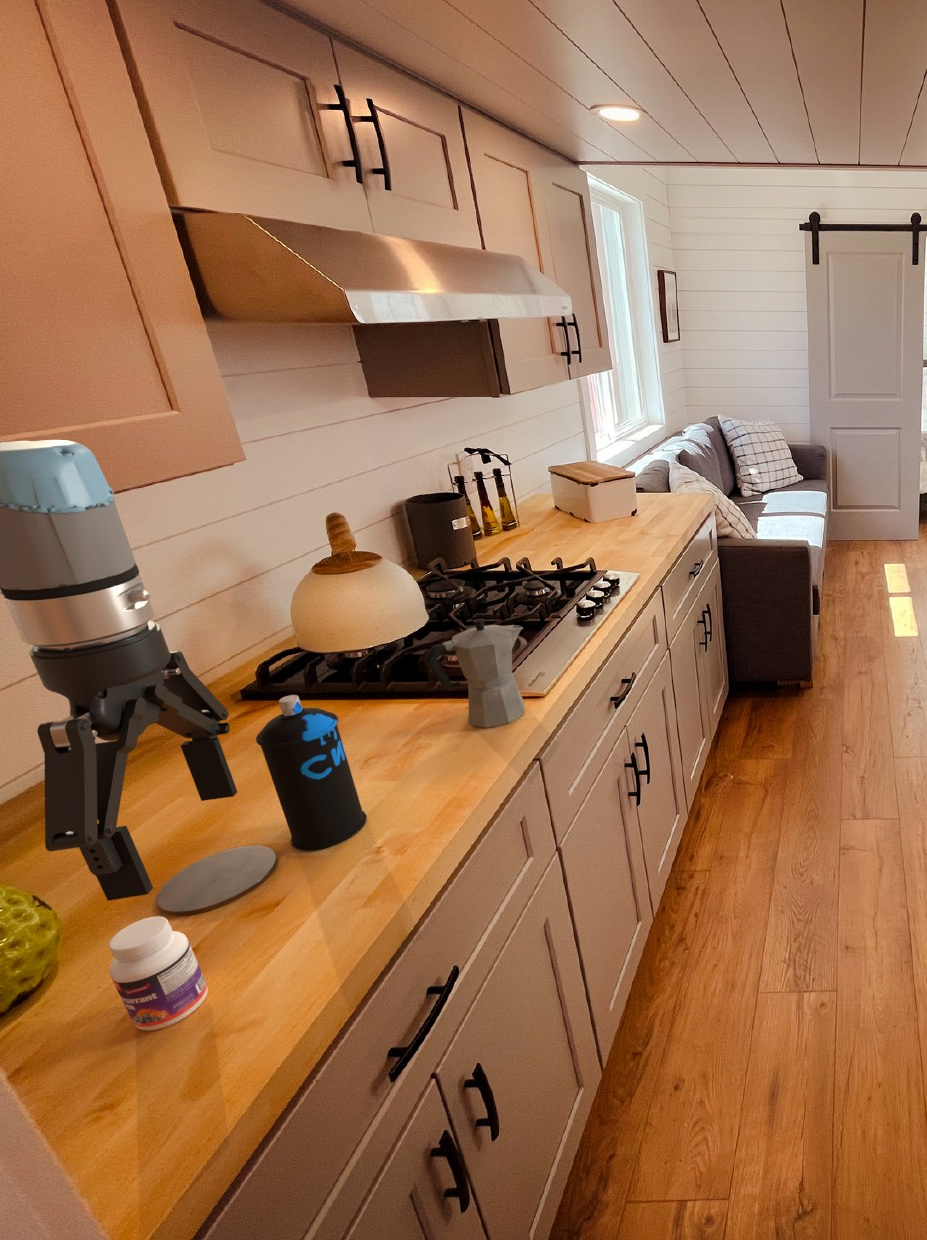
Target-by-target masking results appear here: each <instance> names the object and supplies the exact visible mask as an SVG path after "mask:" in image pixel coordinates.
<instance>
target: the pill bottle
mask: <svg viewBox="0 0 927 1240" xmlns="http://www.w3.org/2000/svg"><path fill="white" fill-rule="evenodd" d="M108 948H109V949H110V952H111V953H112V956H113V958H114V959H113V961H112V962H111V964H110V967H109V976H110V979H111V980H112V982H113V984H114V987H115V988H116V991H117V993H118V995H119V997H120V998H121V1001H122V1003H123V1005H124V1007H125V1009H126V1011H127V1013H128V1015H129V1018H130V1019H131V1022H132V1024H134V1026H135V1027H136V1029H138V1030H141V1031H156V1030H161V1029H164V1028H167V1027H170V1026H172V1025H174V1024H176V1023H179V1022H180V1021H181V1020H183V1019H185V1018H186V1017H188V1016H189V1015H191V1014H192V1013H193V1012H194V1011H196V1010H197V1009H198V1008H199V1007H200V1006H201V1004H202V1003H203V1002H204V1001H205V999H206V998H207V995H208V992H209V988H208V984H207V981H206V979H205V976H204V974H203V972H202V970H201V967H200V964H199V962H198V960H197V958H196V954H195V953H194V951H193V948H192V946H191V944H190V942H189V939H188V937H187V935H185V934H184V933H182V932H181V931H176V930H173V929H172V926H171V924H170V923H169V920H168V919H167V918H166V917H164V916H149V917H146V918H143V919H140V920H137V921H135V922H133V923H130V924H129V925H127V926H124V927H123V928H122V929H120V931H118V932H117V933H115V935H113V937H112V938H111V939H110V940H109V944H108Z"/></svg>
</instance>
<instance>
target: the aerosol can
mask: <svg viewBox="0 0 927 1240" xmlns="http://www.w3.org/2000/svg"><path fill="white" fill-rule="evenodd" d="M278 704H279V707H280V710H281V714H279V715H277V716H275V717H273V718H272V719H270V720H269V721H268V722H267V723H266V724H265V725H264V726H263V728H262V729H261V730H260V731H259V732H258V733H257V735H256V736H255V743H257V745H258V746H260V748H261V752H262V754H263V757H264V759H265V763H266V766H267V768H268V772H269V775H270V777H271V781H272V783H273V787H274V789H275V792H276V795H277V798H278V801H279V804H280V807H281V810H282V812H283V815H284V818H285V821H286V825H287V826H288V830H289V833H290V836H291V837H290V844H291V846H292V847H293V848H294V849H296V850H300V851H318V850H324V849H326V848H327V849H328V848H330V847H333V846H336V845H339V844H341V843H343V842H345V841H347V840H348V839H350V838H352V837H353V836H354V835H356V834H358V833H359V831H361V829H362V828H363V827H364V826H365V824H366V822H367V818H368V817H367V814H366V812H365V811H363V809H362V805H361V801H360V798H359V794H358V791H357V788H356V784H355V781H354V778H353V775H352V771H351V767H350V764H349V761H348V757H347V754H346V751H345V747H344V743H343V740H342V738H341V734H340V730H339V727H338V722H339V717H338V716H337V714H336V713H334V712H331V711H327V710H326V709H325V710H324V709H321V708H319V707H302V704H301V700H300V697H299V695H297V694H290V695H286V696H283V697H281V698H280V699H279V700H278Z"/></svg>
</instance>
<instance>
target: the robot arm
mask: <svg viewBox="0 0 927 1240" xmlns="http://www.w3.org/2000/svg"><path fill="white" fill-rule="evenodd" d="M0 592H1V594H2V596H3V598H4V601H5V603H6V605H7V609H8V611H9V613H10V615H11V617H12V620H13V622H14V625H15V627H16V630H17V632H18V634H19V637H20V639H21V642H23V643H25V644H27V645H31V646H33V647H32V648H31V649H30V651H29V657H30V658H31V662H32V663H33V665H34V668H35V670H36V672H37V674H38V676H39V679H40V681H41V683H42V686H43V687H44V688H45V690H48V691H50V692H51V693H55V694H59V695H61V696H63V697H64V698H66V699H67V700H68V703H69V716H67V717H65V718H64V719H61V720H55V721H47V722H46V721H45V722H41V724H39V726H37V735H38V738H39V739H38V740H39V742H40V745H41V748H42V750H43V753H44V846H45V850H46V851H47V852H57V851H64V850H72V849H77V848H78V849H79V851H80V853H81V855H82V856H83V859H84V861H85V864H86V865H87V868H88V870H89V872H90V874H92V875H93V876H95V877H96V879H97V881H98V883H99V886H100V887H101V890H102V892H103V894H104V896H105V899H106V901H107V902H110V901H114V900H121V899H128V898H134V897H139V896H146V895H149V893H151V891H153V889H154V886H153V883H152V881H151V879H150V876H149V874H148V872H147V870H146V867H145V865H144V863H143V861H142V858H141V856H140V853H139V852H138V848H137V847H136V844H135V842H134V840H133V838H132V835H131V833H130V831H129V829H128V826H127V825H120V826H117V825H118V819H119V813H120V806H121V802H122V801H121V800H122V794H123V788H124V781H125V775H126V770H127V769H126V768H127V763H128V757H129V754H130V753H131V752H133V751H134V750H135V749H136V748H137V745H138V739H139V737H140V736H141V735H142V734H144V732H145V730H146V729H147V728H148V727H149V726H151V725H154V724H156V725H159V726H160V727H163V728H165V729H167V730H169V731H170V732H173V733H174V734H177V735H179V736H181V737H183V738H185V739H191V740H187V741H186V740H185V741H184V742H183V743H181V744H180V749H181V751H182V755H183V756H184V759H185V761H186V764H187V767H188V769H189V772H190V775H191V777H192V780H193V783H194V786H195V788H196V791H197V793H198V796H199V798H200V801H201V802H204V801H212V800H219V799H225V798H226V799H227V798H234V797H235V796H236V795H237V794H238V789H237V786H236V784H235V780H234V778H233V775H232V773H231V770H230V767H229V764H228V761H227V759H226V757H225V756H226V755H225V752H224V750H223V747H222V744H221V741H220V738H219V736H222V735H228V734H229V733H230V731H231V726H230V723H229V722H228V721H227V720H228V718H229V710H228V709H227V708H226V707H225V706H224V705H223V704H222V703H221V702H220V700H219V699H218V698H217V697H216V696H215V695H214V694H213V693H212V691H211V690H210V689H209V688H208V687H207V685H205V684H204V683H203V682H202V681H201V679H200V678H199V677H198V676H197V675H196V674H195V673H194V672H193V671H192V670H191V669H190V666H189V663H188V662H187V660H186V658H185V655H184V654H183V652H182V651H180V650H179V651H170V649H169V647H168V644H167V641H166V639H165V636H164V633H163V630H162V628H161V625H160V624H159V623H157V622H155V621H153V620H152V619H153V618H154V616H155V610H154V608H153V606H152V603H151V601H150V597H151V595H150V592H149V591H148V590H147V589H146V588H145V585H144V582H143V580H142V577H141V574H140V570H139V567H138V565H137V562H136V558H135V556H134V554H133V551H132V547H131V545H130V543H129V540H128V537H127V534H126V531H125V528H124V526H123V522H122V519H121V517H120V514H119V510H118V508H117V505H116V501H115V493H114V490H113V489H112V487H110V486H109V482H108V481H107V479H106V477H105V475H104V473H103V471H102V469H101V467H100V465H99V462H98V460H97V459H96V456H95V454H94V453H93V452H92V450H90V448H88V447H87V446H85V445H84V444H81V443H79V442H76V441H72V440H64V439H63V440H62V439H40V440H16V441H15V440H14V441H1V442H0ZM224 721H226V722H224ZM96 738H98V739H100V740H102V741H106V742H98V743H96Z"/></svg>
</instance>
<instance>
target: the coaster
mask: <svg viewBox="0 0 927 1240" xmlns="http://www.w3.org/2000/svg"><path fill="white" fill-rule="evenodd" d="M278 861H279V859H278V855H277V853H276V852H275V850H274V849H272V848H270V847H268V846H265V845H256V844H255V845H254V844H253V845H243V846H236V847H233V848H229V849H225V850H221V851H219V852H215V853H213V854H211V855H209V856H205V857H204V858H201V859H199V860H197V861H195V862H193V863H191V864H190V865H188V866H186V867H184V868H182V869H181V870H180V871H179V872H177V873H175V874H174V875H173V876H171V877H170V878H169V879H168V880H167V881H166V882H165V883H164V884H163V885H162V886H161V888H160V889H159V890H158V893H157V894H156V898H155V903H156V906H157V907H158V908H157V909H158V910H159V911H160V912H161V913H163V914H165V915H167V916H168V915H169V916H174V917H175V916H176V917H177V916H178V917H180V916H191V915H197V914H202V913H205V912H209V911H212V910H215V909H218V908H221V907H223V906H226V905H228V904H231V903H232V902H235V901H237V900H239V899H241V898H242V897H244V896H246V895H248V894H249V893H251V892H253V891H254V890H255V889H257V888H258V887H260V886H261V885H262V884H264V882H266V881H267V880H268V878H269V877H271V875H272V874H273V873H274V871H275V870H276V868H277V865H278Z"/></svg>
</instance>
